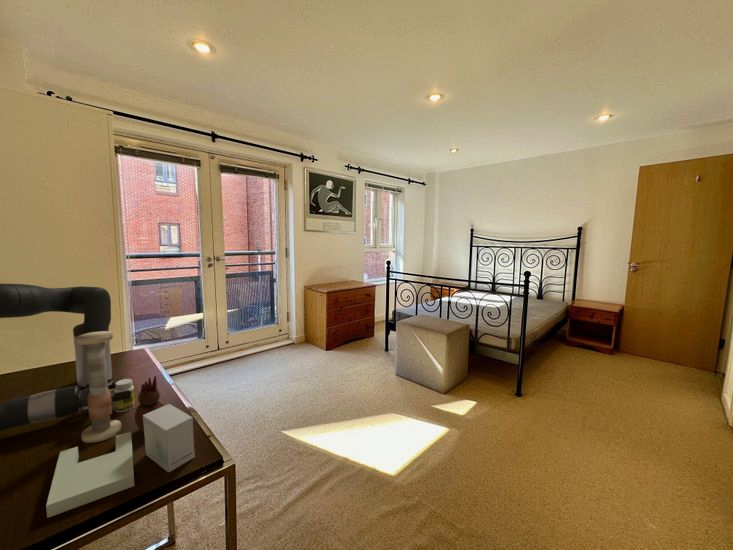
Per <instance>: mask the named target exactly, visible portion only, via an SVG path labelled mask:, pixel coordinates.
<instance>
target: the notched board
mask: <svg viewBox="0 0 733 550" xmlns="http://www.w3.org/2000/svg"><path fill="white" fill-rule="evenodd" d="M132 443H133V441H132V431H128V432H125V433H121V434H118V435H117V434H116V435H115V451H112V452H109V453H106V454H103V455H99V456H96V457H93V458H89V459H87V460H83V461H79V456H80V455H79V446H75V447H72V448H68V449H65V450H60V451H59V455H58V459H57V462H56V466H55V470H54V475H53V478H52V481H51V485H50V490H49V493H48V497H47V502H46V505H45V509H46V518H47V519H48V518H50V517H51V518H52V517H54V516H56V515H59V514H62V513H64V512H68V511H70V510H73V509H77V508H78V507H80V506H84V505H86V504H90V503H92V502H95V501H98V500H100V499H103V498H105V497H107V496H111V495H114V494H115V493H116V494H117V493H118V492H122V491H124V490H127V489H129V488H132V487H135V475H134V474H135V473H134V472H135V471H134V460H133V444H132Z"/></svg>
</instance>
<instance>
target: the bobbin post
mask: <svg viewBox="0 0 733 550" xmlns="http://www.w3.org/2000/svg"><path fill="white" fill-rule="evenodd" d="M113 338H114V336H113V332H112V331H110V330H109V331H99V332H91V333H86V334H82V335H79V336H77V337H76V343H77V344H79V345H86V353H87V366H88V378H89V391H90V393H89V394H88V395H87V399H88V411H89V412H88V419H89V420H90V421H91V425H89V426H88V427H86V428H85V429H84V430H83V431H82V432H81V435H80V436H81V441H82V442H83V443H86V444H93V443H99V442H103V441H105V440H109V439H111V438H113V437H116V436H117V434H119V433H120V432H121V431H122V423H121V421H120V420H117V419H111V415H112V414H113V405H112V404H111V394H112V391H111V390H109V389H108V383H107V369H106V355H105V342H106V341H109V340H110V341H112V340H113Z"/></svg>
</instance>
